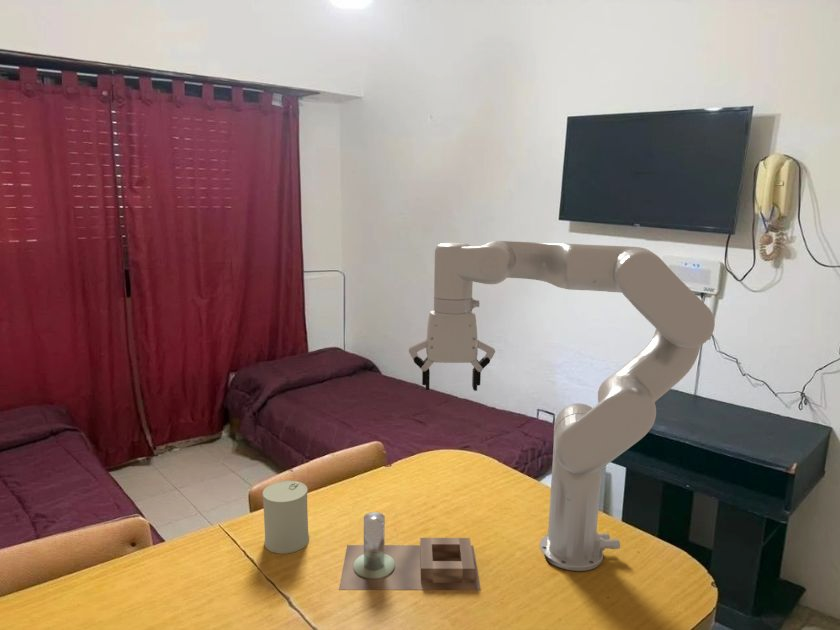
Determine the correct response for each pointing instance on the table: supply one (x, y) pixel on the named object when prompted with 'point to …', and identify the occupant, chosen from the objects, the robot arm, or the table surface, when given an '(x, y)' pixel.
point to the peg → (374, 541)
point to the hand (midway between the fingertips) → (451, 388)
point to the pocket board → (415, 567)
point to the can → (285, 516)
